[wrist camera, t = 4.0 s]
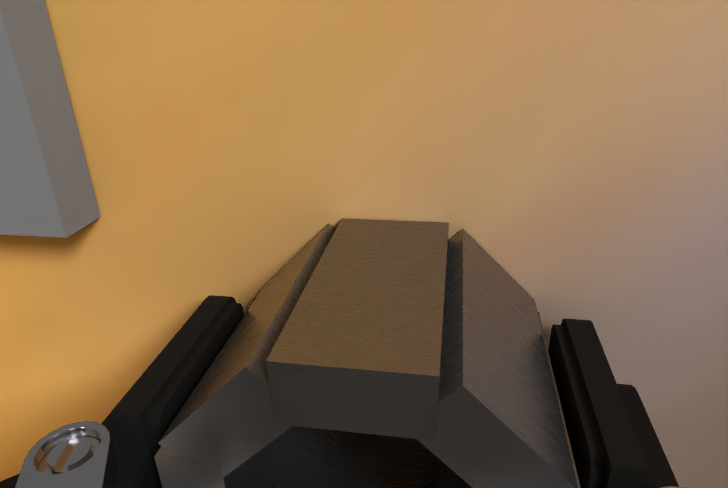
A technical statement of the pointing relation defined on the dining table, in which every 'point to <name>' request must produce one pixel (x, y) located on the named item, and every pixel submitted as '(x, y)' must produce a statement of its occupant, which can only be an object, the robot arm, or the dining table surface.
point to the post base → (38, 132)
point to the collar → (378, 375)
